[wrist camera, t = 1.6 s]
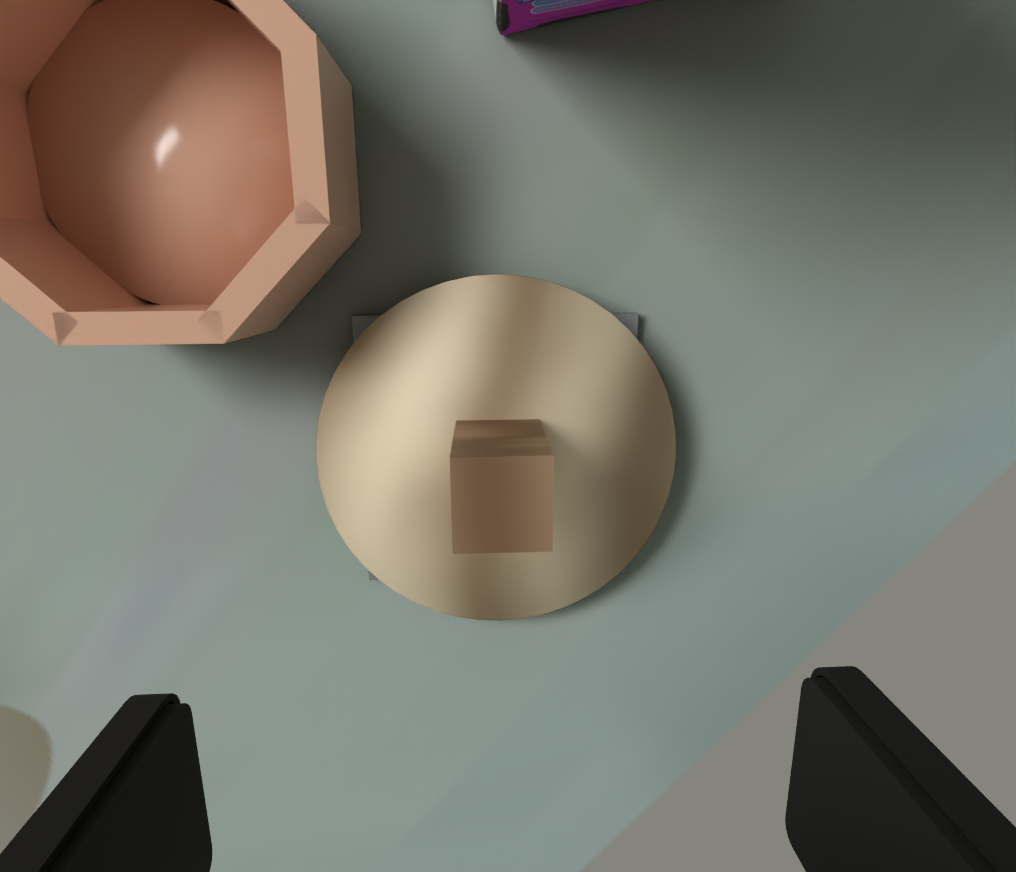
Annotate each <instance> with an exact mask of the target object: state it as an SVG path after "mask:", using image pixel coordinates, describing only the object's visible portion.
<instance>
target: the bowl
mask: <svg viewBox="0 0 1016 872" xmlns="http://www.w3.org/2000/svg"><path fill="white" fill-rule="evenodd" d="M224 4H231V5H232V6H233V7H234V8H235V9H236V10H237V11H238V12H237V11H235V10H233V9H231V8H230V7H228V6H226V5H224ZM360 234H361V224H360V208H359V192H358V176H357V160H356V144H355V128H354V112H353V96H352V85H351V84H350V82H349V81H348V80H347V78H346V77H345V75H344V74H343V72H342V71H341V69H340V68H339V66H338V65H337V64H336V62H335V61H334V59H333V58H332V56H331V55H330V53H329V52H328V51H327V49H326V48H325V46H324V45H323V43H322V42H321V40H320V39H319V38H318V36H317V35H316V34H315V33H314V32H313V31H312V30H311V29H310V28H309V27H308V26H307V25H306V24H305V22H304V21H303V20H302V19H301V18H300V17H299V16H298V15H297V14H296V13H295V12H294V11H293V10H292V9H291V8H290V7H289V6H288V5H287V4H286V3H285V2H284V1H283V0H0V298H1V299H3V300H4V301H5V302H6V303H7V304H9V305H10V306H11V307H12V308H14V309H15V310H16V311H17V312H18V313H20V314H21V315H22V316H23V317H25V318H26V319H27V320H28V321H29V322H31V323H32V324H33V325H34V326H36V327H37V328H38V329H39V330H40V331H42V332H43V333H44V334H45V335H47V336H48V337H49V338H50V339H51V340H53V341H54V342H55V343H56V344H58V346H61V345H146V344H225V343H229V342H233V341H236V340H240V339H243V338H247V337H251V336H254V335H258V334H262V333H265V332H269V331H273V330H276V328H277V327H278V326H279V325H280V324H281V323H282V321H283V320H284V319H285V318H286V317H287V316H288V315H289V314H290V313H291V311H292V310H293V309H294V308H295V307H296V306H297V305H298V304H299V302H300V301H301V300H302V299H303V298H304V297H305V296H306V295H307V294H308V292H309V291H310V290H311V289H312V288H313V287H314V286H315V285H316V283H317V282H318V281H319V280H320V279H321V278H322V277H323V276H324V275H325V273H326V272H327V271H328V270H329V269H330V268H331V267H332V266H333V264H334V263H335V262H336V261H337V260H338V259H339V258H340V257H341V255H342V254H343V253H344V252H345V251H346V250H347V249H348V248H349V247H350V245H351V244H352V243H353V242H354V241H355V240H356V239H357V238H358V236H359V235H360ZM148 301H150V302H153V303H157V304H150V303H149V302H148Z"/></svg>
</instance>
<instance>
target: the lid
mask: <svg viewBox="0 0 1016 872" xmlns="http://www.w3.org/2000/svg"><path fill="white" fill-rule="evenodd" d="M316 446H317V468H318V474H319V480H320V486H321V490H322V493H323V496H324V500H325V503H326V506H327V509H328V511H329V513H330V515H331V518H332V520H333V522H334V524H335V527H336V528H337V530H338V532H339V533H340V535H341V536H342V538H343V540H344V541H345V543H346V544H347V546H348V547H349V549H350V550H351V551H352V552H353V553H354V555H355V556H356V557H357V558H358V560H359V561H360V562H361V563H362V564H363V565H364V566H365V567H366V568H367V569H368V570H369V571H370V572H371V573H372V574H373V575H374V576H375V577H377V578H378V579H379V580H380V581H382V582H383V583H384V584H386V585H387V586H388V587H390V588H391V589H393V590H394V591H395V592H397V593H399V594H401V595H402V596H404V597H406V598H408V599H410V600H411V601H413V602H415V603H417V604H420V605H422V606H425V607H427V608H430V609H432V610H435V611H438V612H441V613H445V614H449V615H452V616H456V617H463V618H469V619H476V620H512V619H523V618H527V617H532V616H537V615H542V614H545V613H548V612H551V611H555V610H558V609H561V608H564V607H566V606H568V605H570V604H572V603H574V602H577V601H579V600H581V599H583V598H585V597H586V596H588V595H590V594H591V593H593V592H594V591H596V590H598V589H599V588H601V587H602V586H604V585H605V584H606V583H607V582H609V581H610V580H611V579H612V578H614V577H615V576H616V575H617V574H619V573H620V572H621V571H622V570H623V569H624V568H625V567H626V566H627V565H628V563H629V562H630V561H631V560H632V559H633V558H634V557H635V556H636V555H637V553H638V552H639V551H640V549H641V548H642V547H643V545H644V544H645V543H646V541H647V540H648V539H649V537H650V535H651V533H652V532H653V530H654V528H655V526H656V525H657V523H658V521H659V519H660V517H661V514H662V512H663V509H664V507H665V505H666V502H667V499H668V496H669V492H670V488H671V485H672V481H673V475H674V468H675V460H676V432H675V425H674V418H673V411H672V408H671V404H670V401H669V397H668V394H667V390H666V388H665V385H664V383H663V381H662V379H661V376H660V374H659V372H658V370H657V368H656V366H655V364H654V363H653V361H652V360H651V358H650V356H649V355H648V353H647V351H646V350H645V348H644V347H643V346H642V345H641V343H640V342H639V341H638V340H637V339H636V337H635V336H634V335H633V334H632V333H631V331H630V330H629V329H628V328H627V327H625V326H624V325H623V324H622V323H621V322H620V321H619V320H618V319H617V318H616V317H615V316H613V315H612V314H611V313H610V312H608V311H607V310H605V309H604V308H602V307H601V306H600V305H598V304H597V303H595V302H594V301H592V300H591V299H589V298H587V297H585V296H583V295H581V294H579V293H577V292H575V291H573V290H571V289H568V288H565V287H563V286H560V285H557V284H554V283H551V282H548V281H544V280H539V279H534V278H529V277H524V276H514V275H498V274H494V275H481V276H470V277H465V278H461V279H456V280H451V281H447V282H444V283H441V284H438V285H435V286H433V287H430V288H427V289H424V290H422V291H420V292H418V293H416V294H414V295H412V296H410V297H408V298H406V299H405V300H403V301H401V302H399V303H398V304H396V305H395V306H394V307H392V308H391V309H389V310H388V311H387V312H385V313H384V314H382V315H381V316H380V317H379V318H377V319H376V320H375V321H374V322H373V323H372V324H371V325H370V326H369V327H368V328H367V329H366V330H365V331H364V332H363V333H362V334H361V335H360V336H359V337H358V339H357V340H356V341H355V342H354V344H353V345H352V346H351V347H350V349H349V350H348V351H347V352H346V354H345V356H344V358H343V359H342V361H341V363H340V364H339V366H338V368H337V369H336V371H335V373H334V375H333V377H332V380H331V382H330V384H329V387H328V389H327V392H326V394H325V397H324V401H323V405H322V409H321V412H320V416H319V423H318V431H317V439H316Z"/></svg>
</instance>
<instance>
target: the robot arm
mask: <svg viewBox="0 0 1016 872" xmlns="http://www.w3.org/2000/svg"><path fill="white" fill-rule="evenodd" d="M785 822H786V830H787V834H788V838H789V840H790V843H791V845H792V847H793V849H794V851H795V853H796V855H797V856H798V858H799V860H800V861H801V863H802V865H803V867H804V869H805V871H806V872H1016V827H1015V826H1014V825H1013V824H1012V823H1011V822H1010V821H1009V820H1008V819H1007V818H1006V817H1005V816H1004V815H1003V814H1002V813H1001V812H1000V811H999V810H998V809H997V808H996V807H995V806H994V805H993V804H992V803H991V802H990V801H989V800H988V799H987V798H986V797H985V796H984V795H983V794H982V793H981V792H980V791H979V790H978V789H977V788H976V787H975V786H974V785H973V784H972V783H971V782H970V781H969V780H968V779H967V778H966V777H965V776H964V775H963V774H962V773H961V772H960V771H959V769H957V768H956V766H955V765H954V764H953V763H952V762H951V761H950V760H949V759H948V758H947V757H946V756H945V755H944V754H943V753H942V752H941V751H940V750H939V749H938V748H937V747H936V746H935V745H934V744H933V743H932V742H931V741H930V740H929V739H928V738H927V737H926V736H925V735H924V734H923V733H922V732H921V731H920V730H919V729H918V728H917V727H916V726H915V725H914V724H913V723H912V722H911V721H910V720H909V719H908V718H907V717H906V716H905V715H904V714H903V713H902V712H901V711H900V710H899V709H898V708H897V707H896V706H895V705H894V704H893V703H892V702H891V701H890V700H889V699H888V698H887V697H886V696H885V695H884V694H883V692H882V691H881V690H880V689H879V688H878V687H877V686H876V685H875V684H874V683H873V682H872V681H871V680H870V679H869V678H867V677H866V675H865V674H864V673H863V672H862V671H860V670H859V669H858V668H856V667H852V666H846V667H820V668H816V669H815V670H814V671H813V673H812V675H811V678H806V679H804V681H803V683H802V687H801V695H800V703H799V711H798V719H797V727H796V735H795V744H794V752H793V760H792V768H791V776H790V784H789V792H788V800H787V808H786V819H785ZM211 861H212V843H211V836H210V830H209V823H208V817H207V810H206V803H205V797H204V790H203V784H202V777H201V770H200V764H199V757H198V751H197V744H196V737H195V731H194V724H193V718H192V712H191V708H190V706H189V705H188V704H186V703H182V704H180V700H179V698H178V697H177V695H175V694H173V693H172V694H147V695H134V696H131V697H130V698H129V699H128V700H127V701H126V702H125V703H124V704H123V705H122V707H121V708H120V709H119V710H118V712H117V713H116V714H115V715H114V716H113V718H112V719H111V720H110V721H109V723H108V724H107V725H106V726H105V727H104V729H103V730H102V731H101V732H100V734H99V735H98V736H97V737H96V738H95V740H94V741H93V742H92V743H91V745H90V746H89V747H88V748H87V749H86V751H85V752H84V753H83V754H82V756H81V757H80V758H79V759H78V760H77V762H76V763H75V764H74V765H73V767H72V768H71V769H70V770H69V771H68V773H67V774H66V775H65V776H64V778H63V779H62V780H61V781H60V782H59V784H58V785H57V786H56V787H55V789H54V790H53V791H52V792H51V793H50V795H49V796H48V797H47V798H46V800H45V801H44V802H43V803H42V804H41V806H40V807H39V808H38V809H37V811H36V812H35V813H34V814H33V815H32V816H31V817H30V819H29V820H28V821H27V822H26V824H25V825H24V826H23V827H22V828H21V830H20V831H19V832H18V833H17V835H16V836H15V837H14V838H13V840H12V841H11V842H10V843H9V844H8V846H7V847H6V848H5V849H4V850H3V852H2V853H1V854H0V872H209V871H210V867H211Z"/></svg>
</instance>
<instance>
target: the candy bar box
mask: <svg viewBox="0 0 1016 872" xmlns="http://www.w3.org/2000/svg"><path fill="white" fill-rule="evenodd" d="M492 1H493V7H494V13H495V18H496V24H497V28H498V31H499V33H500V34H501V35H506V34H511V33H516V32H520V31H524V30H528V29H532V28H536V27H540V26H544V25H549V24H553V23H557V22H561V21H565V20H570V19H574V18H580V17H584V16H588V15H592V14H597V13H601V12H606V11H610V10H614V9H619V8H623V7H627V6H631V5H636V4H640V3H644V2H648V1H653V0H492Z"/></svg>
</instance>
